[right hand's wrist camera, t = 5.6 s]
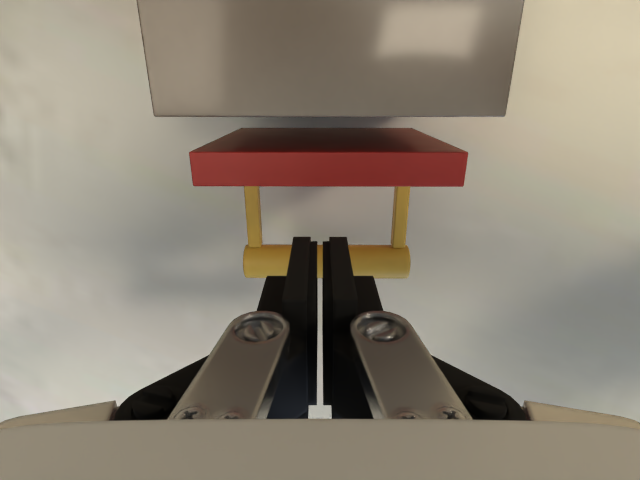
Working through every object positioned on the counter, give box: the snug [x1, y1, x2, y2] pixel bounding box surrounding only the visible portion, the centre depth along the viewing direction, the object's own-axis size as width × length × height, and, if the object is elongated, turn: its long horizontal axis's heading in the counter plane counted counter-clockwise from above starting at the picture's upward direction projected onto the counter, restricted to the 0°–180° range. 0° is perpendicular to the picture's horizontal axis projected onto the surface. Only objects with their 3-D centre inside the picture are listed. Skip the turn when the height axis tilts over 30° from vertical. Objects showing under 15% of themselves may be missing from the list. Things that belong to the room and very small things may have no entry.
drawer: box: [189, 128, 468, 278], centre depth 16 cm, size 21×10×9 cm, turn 0°
